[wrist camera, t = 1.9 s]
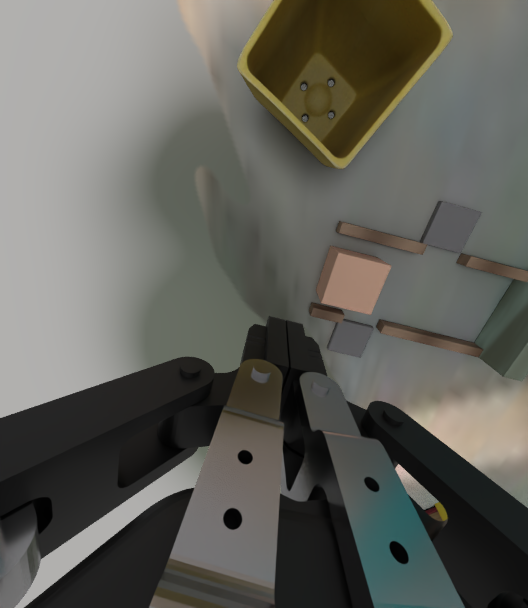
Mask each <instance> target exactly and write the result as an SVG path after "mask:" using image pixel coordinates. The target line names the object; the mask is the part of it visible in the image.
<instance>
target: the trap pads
mask: <svg viewBox="0 0 528 608" xmlns="http://www.w3.org/2000/svg"><path fill="white" fill-rule="evenodd" d="M481 213H482V212H480V211H476V210H472V209H469V208H465V207H461V206H458V205H454V204H450V203H447V202H443V201H439V202H438V204H437V206H436V208H435V210H434V213H433V215H432V217H431V219H430V221H429V223H428V226H427V228H426V230H425V232H424V234H423V236H422V239H421V241H420V243H423V244H427V245H431V246H435V247H439V248H442V249H446V250H450V251H454V252H457V253H461V252H462V250H463V248H464V246H465V244H466V242H467V240H468V238H469V236H470V234H471V233H472V231H473V229H474V227H475V225H476V223H477V221H478V219H479V217H480V215H481ZM373 329H374V328H373V327H372V326H370V325H366V324H362V323H358V322H354V321H350V320H346V319H343V321H342V324H341V323H336V326H335V328H334V331H333V333H332V336H331V339H330V341H329V344H328V346H327V348H328V350H330V351H335V352H339V353H343V354H347V355H351V356H355V357H360V358H361V355H362V353H363V351H364V349H365V347H366V344H367V342H368V340H369V338H370V336H371V333H372V331H373Z"/></svg>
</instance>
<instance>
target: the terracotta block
mask: <svg viewBox="0 0 528 608" xmlns="http://www.w3.org/2000/svg"><path fill="white" fill-rule="evenodd" d="M390 268H391V265H389V264H387V263H386V262H384V261H382V260H381V259H379V258H377V257H374V256H370V255H366V254H362V253H358V252H354V251H350V250H346V249H342V248H338V247H334V246H330V249H329V252H328V255H327V258H326V261H325V264H324V267H323V270H322V273H321V276H320V279H319V282H318V285H317V288H316V292H317V294H318V296H319V299H320V301H321V303H323V304H327V305H332V306H336V307H340V308H344V309H348V310H352V311H357V312H361V313H365V314H369V315H371V313H372V311H373V308H374V306H375V304H376V301H377V299H378V297H379V294H380V292H381V290H382V287H383V285H384V283H385V280H386V278H387V276H388V273H389V271H390Z"/></svg>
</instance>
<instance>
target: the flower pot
mask: <svg viewBox="0 0 528 608" xmlns="http://www.w3.org/2000/svg"><path fill="white" fill-rule="evenodd" d="M452 37H453V33H452V30H451V28H450V25H449V24H448V22H447V20H446V19H445V18H444V17H443V15H442V14H441V12H440V11H439V9H438V8H437V7H436V5H435V4H434V3H433V1H432V0H273V2H272V3H271V5H270V7H269V8H268V10H267V11H266V13H265V15H264V16H263V18H262V19H261V21H260V23H259V24H258V26H257V27H256V29H255V31H254V32H253V34H252V35H251V37H250V39H249V40H248V42H247V44H246V45H245V47H244V49H243V51H242V53H241V55H240V57H239V59H238V63H237V67H238V70H239V72H240V74H241V75H242V77H243V79H244V80H245V82H246V84H247V86H248V87H249V89H250V91H251V92H252V94H253V95H254V97H255V98H256V99H257V100H258V101H259V102H260V103H261V104H262V105H263V106H264V107H265V108H266V109H267V110H268V111H269V112H270V113H271V114H272V115H274V116H275V117H276V118H277V119H278V120H279V121H280V122H281V123H282V124H283V125H284V126H285V127H286V128H287V129H288V130H289V131H290V132H291V133H292V134H293V135H294V136H295V137H296V138H297V139H298V140H299V141H300V142H301V143H302V144H303V145H304V146H305V147H306V148H307V149H308V150H309V151H310V152H311V153H312V154H313V155H314V156H315V157H316V158H317V159H318V160H319V161H320V162H321V163H322V164H324V165H325V166H328V167H332V168H337V169H344V168H345V167H347V165H348V164H349V163H350V162H351V161H352V160H353V158H354V157H355V156H356V155H357V153H358V152H359V151H360V150H361V149H362V147H363V146H364V145H365V144H366V143H367V141H368V140H369V139H370V138H371V136H372V135H373V134H374V133H375V132H376V130H377V129H378V128H379V127H380V125H381V124H382V123H383V122H384V121H385V119H386V118H387V117H388V116H389V115H390V113H391V112H392V111H393V110H394V109H395V107H396V106H397V105H398V104H399V103H400V102H401V100H402V99H403V98H404V97H405V96H406V94H407V93H408V92H409V91H410V89H411V88H412V87H413V86H414V85H415V84H416V82H417V81H418V80H419V79H420V78H421V76H422V75H423V74H424V73H425V72H426V71H427V69H428V68H429V67H430V66H431V65H432V63H433V62H434V61H435V60H436V59H437V58H438V56H439V55H440V54H441V53H442V51H443V50H444V49H445V48H446V46H447V45H448V44H449V42H450V41H451V39H452ZM330 79H333V80H334V82H335V83H334V85H333V86H332V87H329V86H328V81H329V80H330ZM302 83H306V84H307V89H306V90H305V91H303V90H301V84H302ZM330 111H332V112H334V117H333V118H332V119H330V118H329V117H328V113H329V112H330ZM305 114H306V115H308V121H306V122H303V121H302V116H303V115H305Z"/></svg>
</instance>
